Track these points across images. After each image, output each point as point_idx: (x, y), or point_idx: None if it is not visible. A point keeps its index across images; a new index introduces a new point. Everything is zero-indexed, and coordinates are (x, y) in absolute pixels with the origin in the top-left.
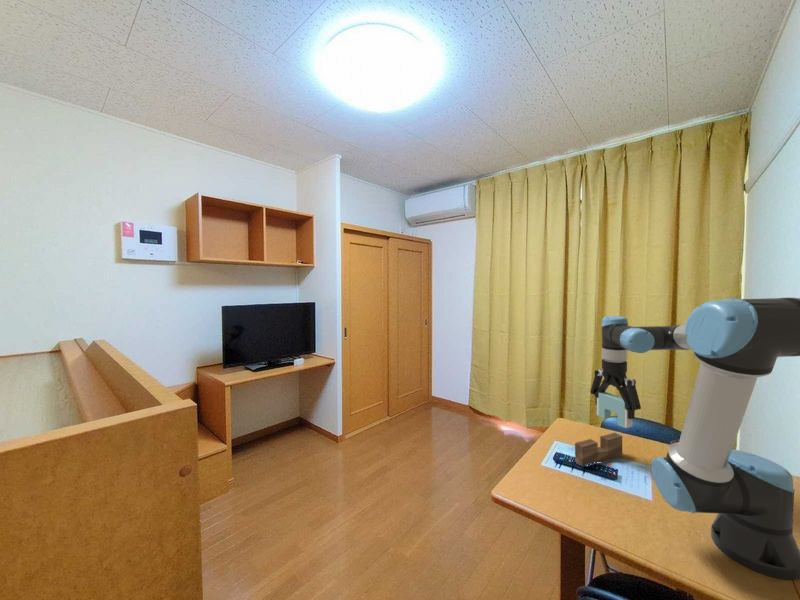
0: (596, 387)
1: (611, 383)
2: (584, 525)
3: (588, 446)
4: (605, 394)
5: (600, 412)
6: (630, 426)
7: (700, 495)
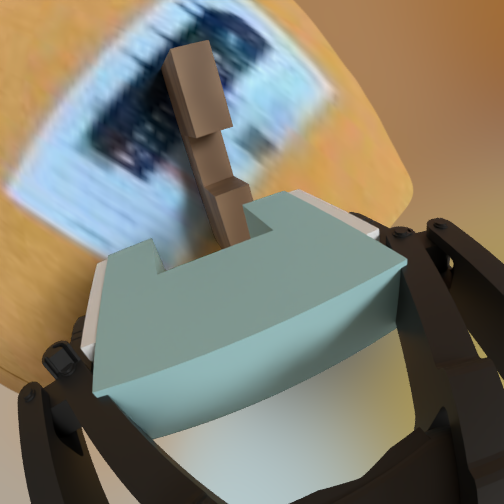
0: (461, 280)
1: (381, 495)
2: None
3: (179, 85)
4: (353, 306)
5: (285, 203)
6: None
7: None
